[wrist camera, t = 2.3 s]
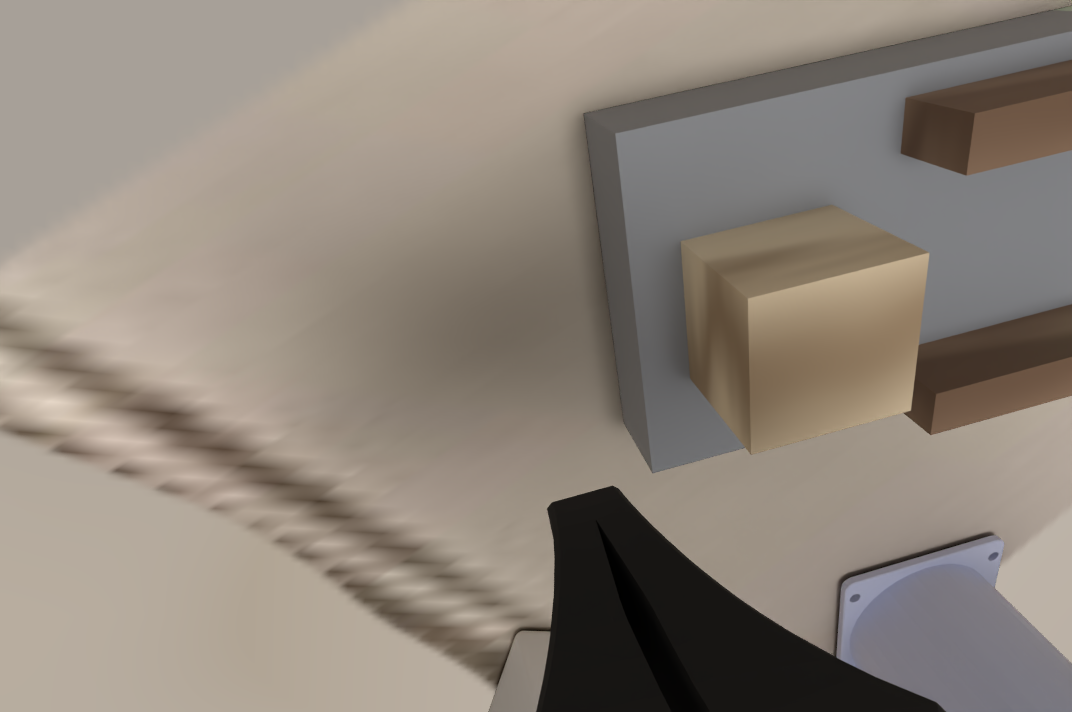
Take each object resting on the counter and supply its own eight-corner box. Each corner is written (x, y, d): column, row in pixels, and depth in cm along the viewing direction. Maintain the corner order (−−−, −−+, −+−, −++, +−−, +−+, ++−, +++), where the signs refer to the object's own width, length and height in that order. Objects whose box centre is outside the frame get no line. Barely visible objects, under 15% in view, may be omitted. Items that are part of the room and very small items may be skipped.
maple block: (826, 342, 22) (910, 410, 19) (690, 378, 22) (751, 454, 18) (832, 204, 20) (929, 252, 16) (680, 241, 19) (747, 298, 16)
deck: (1299, 243, 29) (1392, 270, 26) (623, 423, 26) (652, 473, 23) (1423, -72, 23) (1557, -78, 20) (583, 113, 20) (615, 133, 18)
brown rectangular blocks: (1066, 341, 24) (1135, 377, 22) (879, 393, 24) (930, 434, 21) (1137, 44, 20) (1233, 52, 17) (905, 97, 19) (974, 113, 17)
